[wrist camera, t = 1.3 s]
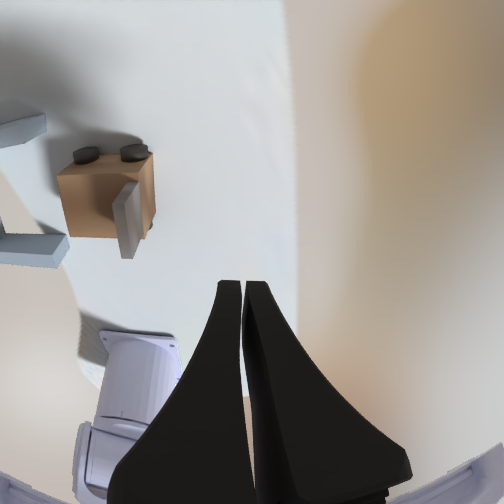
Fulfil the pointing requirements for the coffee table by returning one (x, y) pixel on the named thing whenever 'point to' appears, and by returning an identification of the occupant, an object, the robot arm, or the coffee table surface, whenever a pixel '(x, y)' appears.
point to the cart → (109, 195)
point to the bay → (29, 245)
